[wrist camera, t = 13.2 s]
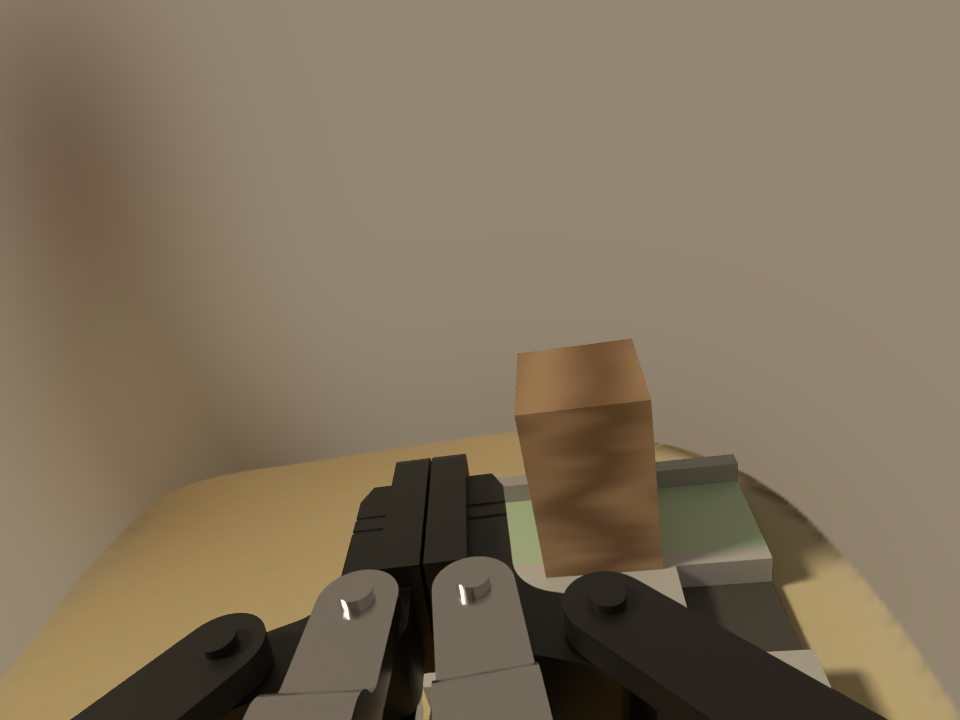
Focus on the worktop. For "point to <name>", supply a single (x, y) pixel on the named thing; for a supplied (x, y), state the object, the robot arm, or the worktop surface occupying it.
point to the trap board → (688, 556)
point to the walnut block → (589, 458)
